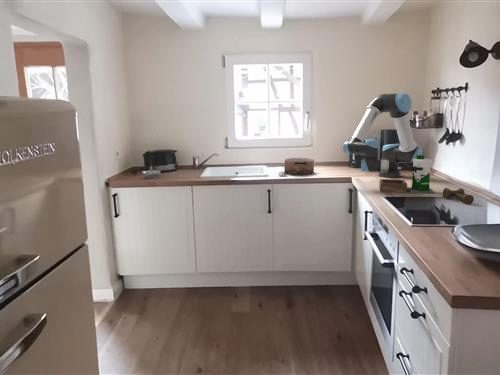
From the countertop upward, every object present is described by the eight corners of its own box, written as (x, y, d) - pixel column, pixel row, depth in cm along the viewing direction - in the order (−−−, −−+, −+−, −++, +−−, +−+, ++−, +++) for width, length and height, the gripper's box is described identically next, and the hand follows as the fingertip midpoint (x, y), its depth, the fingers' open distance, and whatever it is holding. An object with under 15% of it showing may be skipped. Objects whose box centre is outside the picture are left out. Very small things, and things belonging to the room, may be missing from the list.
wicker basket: (316, 176, 281) (316, 161, 279) (285, 176, 282) (285, 161, 280) (311, 170, 311) (311, 157, 309) (283, 170, 312) (283, 157, 310)
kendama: (459, 205, 192) (437, 196, 212) (477, 205, 193) (454, 196, 213) (461, 194, 191) (439, 185, 211) (479, 194, 192) (456, 185, 211)
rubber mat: (407, 188, 234) (407, 187, 234) (430, 189, 230) (430, 188, 230) (409, 192, 222) (409, 191, 221) (434, 193, 218) (434, 192, 218)
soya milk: (421, 187, 231) (423, 154, 228) (432, 190, 223) (435, 156, 219) (408, 188, 229) (411, 155, 225) (419, 191, 220) (422, 157, 217)
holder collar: (379, 186, 239) (379, 178, 238) (403, 187, 235) (404, 179, 234) (380, 191, 225) (380, 183, 224) (406, 192, 221) (407, 184, 220)
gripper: (386, 169, 241) (422, 170, 235) (389, 175, 217) (430, 177, 212) (386, 157, 239) (423, 158, 234) (390, 162, 216) (431, 163, 210)
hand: (426, 167), depth 223 cm, fingers open, 13 cm apart
